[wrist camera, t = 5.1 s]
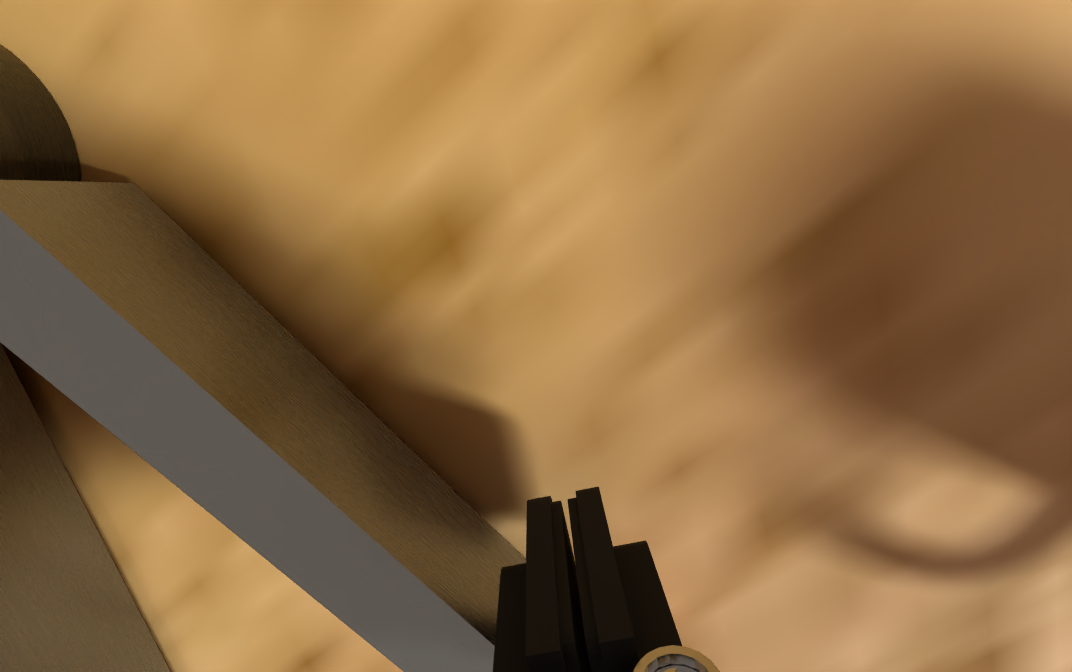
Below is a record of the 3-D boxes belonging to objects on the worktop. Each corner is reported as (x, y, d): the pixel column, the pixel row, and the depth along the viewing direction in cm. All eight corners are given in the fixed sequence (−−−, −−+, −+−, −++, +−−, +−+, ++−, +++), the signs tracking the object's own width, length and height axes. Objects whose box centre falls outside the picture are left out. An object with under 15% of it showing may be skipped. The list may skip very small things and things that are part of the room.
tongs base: (-252, 50, 10) (-748, -40, 6) (11, -9, 10) (-331, -143, 6) (202, 848, 17) (103, 1046, 13) (363, 824, 16) (313, 1018, 13)
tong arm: (-210, 137, 10) (-847, 89, 5) (-72, -56, 9) (-689, -311, 4) (549, 769, 15) (558, 1020, 11) (684, 685, 14) (757, 919, 10)
